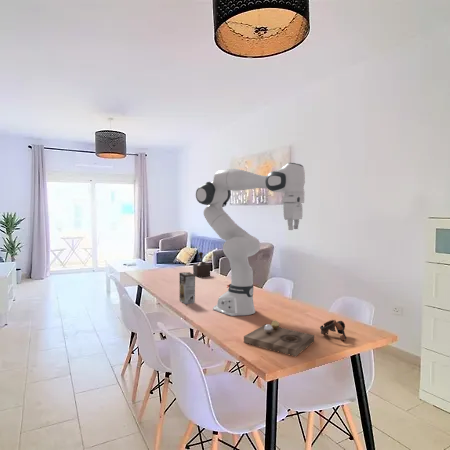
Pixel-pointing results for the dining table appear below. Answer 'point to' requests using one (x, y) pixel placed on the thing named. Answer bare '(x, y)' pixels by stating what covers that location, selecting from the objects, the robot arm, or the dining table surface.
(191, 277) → the coffee box
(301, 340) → the seat plate
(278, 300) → the dining table surface
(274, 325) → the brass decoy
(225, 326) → the dining table surface
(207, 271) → the manual coffee grinder
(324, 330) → the dark brown arched piece
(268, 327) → the steel ball
